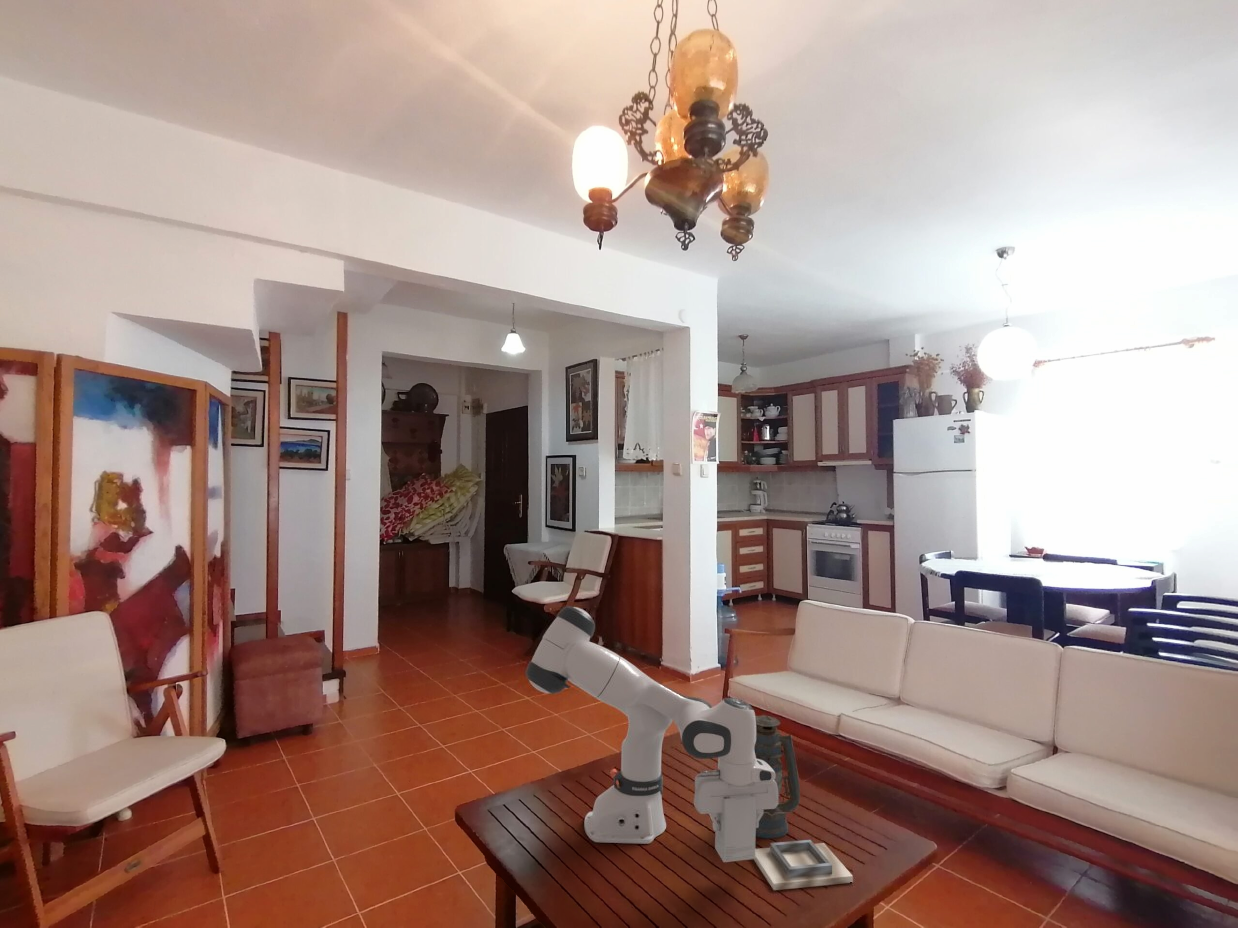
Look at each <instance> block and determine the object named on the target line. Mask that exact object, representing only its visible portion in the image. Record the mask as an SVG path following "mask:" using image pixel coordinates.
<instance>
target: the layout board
mask: <svg viewBox="0 0 1238 928" xmlns="http://www.w3.org/2000/svg"><path fill="white" fill-rule="evenodd" d="M753 861H754V863H756V866H757V867H758V869H759V870H760V872H761V873H762V875H763V876H764V878H765V879H766V880H767V882H768V884H769V886H771V888H772V890H773V891H781V890H790V889H801V888H809V887H811V888H812V887H819V886H820V887H822V886H830V885H831V886H832V885H840V884H841V885H842V884H850V882H852V883H854V876H853V874H852V873H851V872H850V871H849V870H848V869H847V868H846V866H845V865H844V864H843V863H842V862H841V861H840V860H839V858H838V857H837V856H836V855H835V854H834V853H833V852H832V850H830V848H829V847H828V846H827V845H826V844H825V842H823V843H822V842H819V843H814V842H813V841H812V840H811V839H804V840H791V841H782V842H781V841H780V842H779V841H778V842H770V843H769V847H761V848H755V859H753Z"/></svg>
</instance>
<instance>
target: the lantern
mask: <svg viewBox="0 0 1238 928" xmlns="http://www.w3.org/2000/svg"><path fill="white" fill-rule="evenodd" d="M755 718H756V743H755V747H754V751H755V755H756V758H757V759H760V760H763V761H765V762H766V763H767V764H768V765H769V766H770V767H771V768H772V769H773V770H774V772H775V774H776V776H775V779H774V781H775V782H776V783H777V787H778V800H779V799H780V798H781V796H780V793H781V791H782V785H783V786H784V791H785V792H784V793H783V798H782V801H778V805H777V807H776V808H775V809H764V812H763V815H762V817H761V819H760V820H759V827H758V828H756V837H759V838H763V839H778V838H779V839H780V838H782V837H784V836H786V835H787V834H788V831H789V824H788V820H787V819H786V814H790V813H791V814H792V813H793V812H794V811H795V810H797V808H798V806H799V804H800V803H801V788H800V777H799V772H798V765H797V759H796V754H795V749H794V745H793V744H794V743H793V740H794V738H793V736H792V734H791V733H789V734H788V735H787V734H785V735H784V734H783V735H782V734H780V733H781V732H780V730H778V728H777V727H778V726H780V724H781V721H780V720H779V719H778V718H777V717H774V716H770V715H766V714H765V715H764V714H761V715H755ZM783 754H784V758H785V759H784V760H785V765H786V772H787V773H786V774H787V775H786V774H785V775H784V771H783V766H782V761H781V759H780V758H781V757H783ZM785 796H786V797H788V796H790V797H789V798H788V799H787V800H786V801H784V800H785Z"/></svg>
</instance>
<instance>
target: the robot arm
mask: <svg viewBox="0 0 1238 928" xmlns="http://www.w3.org/2000/svg"><path fill="white" fill-rule="evenodd" d="M595 629H596V623H595V620H594V619H593V618H592V616H591V615H590V614H589V613H588V612H587V611H586V610H584V609H583V608H580V607H577V606H571V605H568V606H564V607H563V608H561V609H560V610H559V612H558V613H557V615H556V618H554V620H553V621H552V623H551V624H550V625H549V627H548V628H547V629H546V630H545V632H544V634H543V636H542V638H541V641H540V642H539V644H538V646H537V648H536V649H535V652H534V655H533V656H532V659H531V661H529V662H528V665H527V667H526V670H525V675H526V679H527V680H528V681H529V683H530V685H532V686H533V687H534V688H535V689H536V690H537V691H539V692H542V693H545V694H552V695H555V694H558V693H561V692H562V691H563V690H565V689H566V688H567V689H570V688H571V686H570V685H569V684H567V682H568V681H569V682H570V683H571V684H573V685H574V686H576V687H577V688H579V689H581V690H582V691H584V692H585V693H587V694H589V695H590V696H592V697H594V698H595V699H597V700H599V701H600V702H602V703H604V704H606V705H608V706H610V707H614V708H615V709H617V710H619V711H620V712H621V713H622V714H624V715H625V716H626V717H627V720H628V729H627V733H626V737H625V738H624V739H623V741H622V742H621V759H620V760H621V764H620V766H621V767H620V770H619V771H618V770H617V769H616V768H612V769H611V771H609V773H610V777H611V779H613V785H612V786H610V787H608V789H606V790H604V792H602V793H601V794H600V795H599V796H597V797H596V799H595V801H594V805H593V809H592V811H588V812H587V814H585V818H584V823H583V825H584V826H583V827H584V831H585V834H586V835H587V836H588V838H589V839H590V840H591V841H593V842H594V843H611V844H612V843H614V844H616V843H617V844H644V845H645V844H647V845H649V844H651V843H652V842H653V841H654V839H655V838H656V837H658V836H659V835H661V834H663V833H664V832H665V830H666V828H667V822H666V818H665V815H664V814H665V813H664V808H663V801H662V800H663V799H662V795H663V790H664V778H663V776H664V775H663V773H662V746H663V741H664V738H665V737H664V736H665V733H666V730H668V728H670V726H671V724H672V723H674V724H675V725H676V727H677V728H678V730H679V736H680V739H681V742H682V743H681V744H682V746H683V748H684V751H686V752H687V754H689V756H691V757H693V758H695V759H699V760H706V759H714V758H715V759H716V758H718V759H717V760H718V761H717V763H718V764H717V769H713V770H701V771H700V772H699V773H698V774H697V775H695V777H694V789H695V790H694V796H693V805H694V808H695V810H696V811H697V812H698V813H699V815H700V814H701V815H706V814H708V815H709V817H710V819H711V820H712V830H713V831H714V832H715V831H721V828H720V827H721V823H720V822H719V820H716V817H717V813H722V812H723V797H731V796H742V795H755V796H756V797H757V801H756V828H758V827H759V820H760V819H761V817H762V815H763V812H764V809H775V808H776V807H777V805H778V804H779V803H778V802H779V799H778V798H779V797H778V787H777V783H776V782H775V781H774V779H775V776H776V774H775V772H774V770H773V769H772V768H771V767H770V766H769V765H768V764H767V763H766V762H765V761H763V760H760V759H757V758H756V755H755V751H754V747H755V743H756V718H755V716H756V713H755V710H754V708H753V707H752V706H751V705H750V704H749V703H748V702H747V701H744V700H743V699H739V698H738V697H737V698H736V697H724V698H723V699H722V700H721V701H720V702H719V703H717V704H715V705H714V706H712V704H711V703H709V702H708V701H706V700H705V699H704V698H703V699H702V698H700V697H693V696H686V695H682V694H681V693H679V692H677V691H675V690H673V689H671V688H670V687H668V686H666V685H665V684H662V683H661V682H659V681H657V680H655V679H653V678H651V677H650V676H648V675H647V674H646V673H644V672H643V671H642V670H640V669H639V668H638V667H637V666H636V665H634V664H633V663H631V662H630V661H628V659H626V658H624V657H622V656H620V655H619V654H617V653H616V652H614V651H613V650H610V649H609V648H606V647H604V646H602V645H600V644H597V643H594V642H591V641H590V639H591V638H593V636H594V632H595Z"/></svg>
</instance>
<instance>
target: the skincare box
mask: <svg viewBox="0 0 1238 928" xmlns="http://www.w3.org/2000/svg"><path fill="white" fill-rule="evenodd" d="M756 801H757V797H756V796H755V795H742V796H731V797H723V812H722V813H717V817H715V820H719V822H720V823H721V827H720V828H721V831H714V832H715V833H714V835H715V840H714V849H715V850H716V851H717V854H718V856H719V857H720V859H721V860H722V862H723V863H729V862H739V861H746V860H747V861H748V860H749V861H750V860H754V859H755V849H756V837H757V836H756Z"/></svg>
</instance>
